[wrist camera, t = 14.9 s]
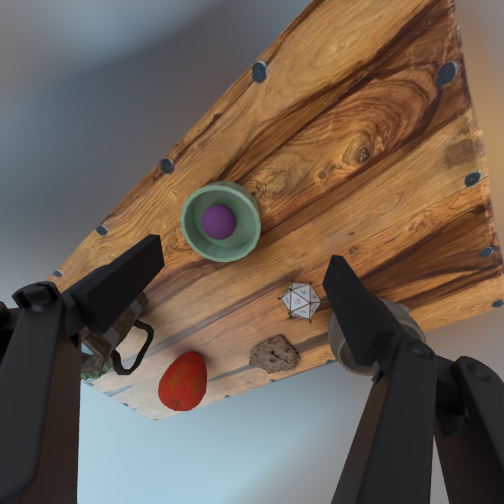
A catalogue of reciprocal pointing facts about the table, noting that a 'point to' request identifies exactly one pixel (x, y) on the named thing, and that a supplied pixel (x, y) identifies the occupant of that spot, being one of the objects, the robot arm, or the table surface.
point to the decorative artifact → (98, 373)
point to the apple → (184, 382)
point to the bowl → (343, 351)
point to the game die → (301, 300)
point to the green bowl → (244, 213)
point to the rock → (274, 355)
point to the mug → (114, 340)
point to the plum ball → (219, 222)
